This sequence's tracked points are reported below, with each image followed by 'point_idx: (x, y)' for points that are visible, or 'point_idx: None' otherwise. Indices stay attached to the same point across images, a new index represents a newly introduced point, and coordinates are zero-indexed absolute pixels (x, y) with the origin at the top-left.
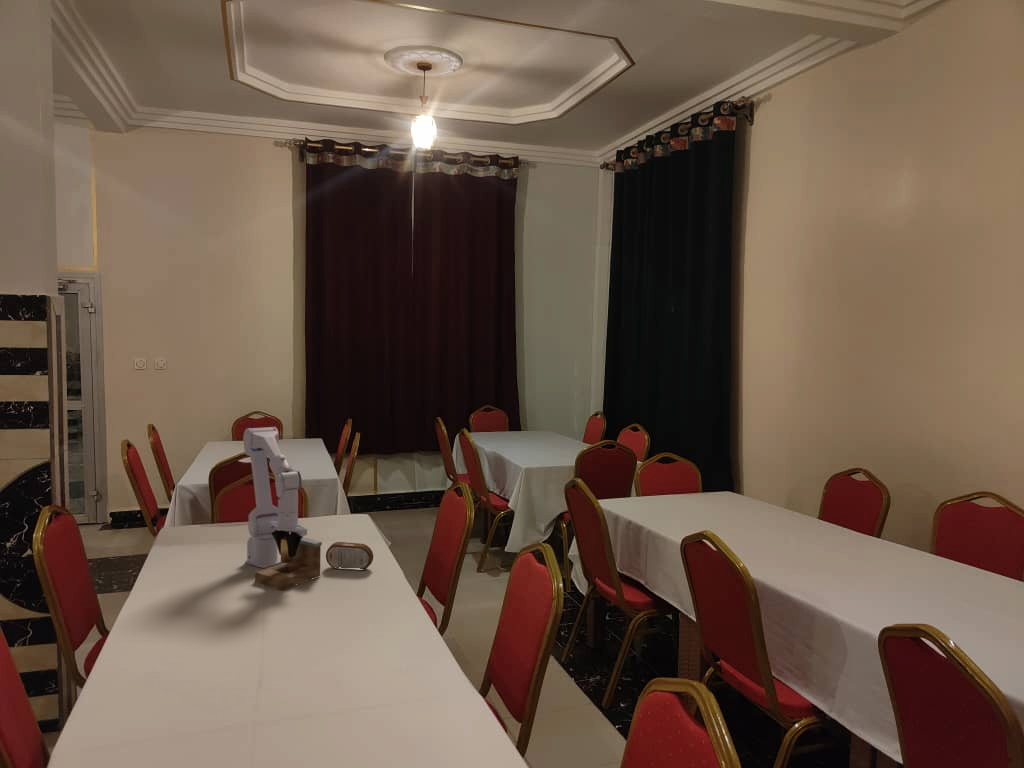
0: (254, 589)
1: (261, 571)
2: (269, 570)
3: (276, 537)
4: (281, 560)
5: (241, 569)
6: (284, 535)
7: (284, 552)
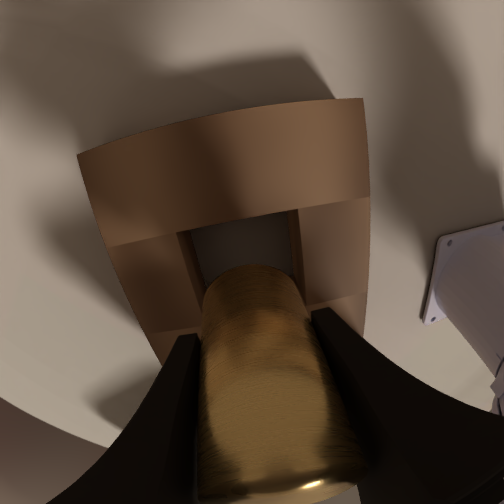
0: (225, 33)
1: (341, 131)
2: (320, 181)
3: (422, 444)
4: (257, 273)
5: (486, 170)
6: (373, 492)
7: (221, 339)
